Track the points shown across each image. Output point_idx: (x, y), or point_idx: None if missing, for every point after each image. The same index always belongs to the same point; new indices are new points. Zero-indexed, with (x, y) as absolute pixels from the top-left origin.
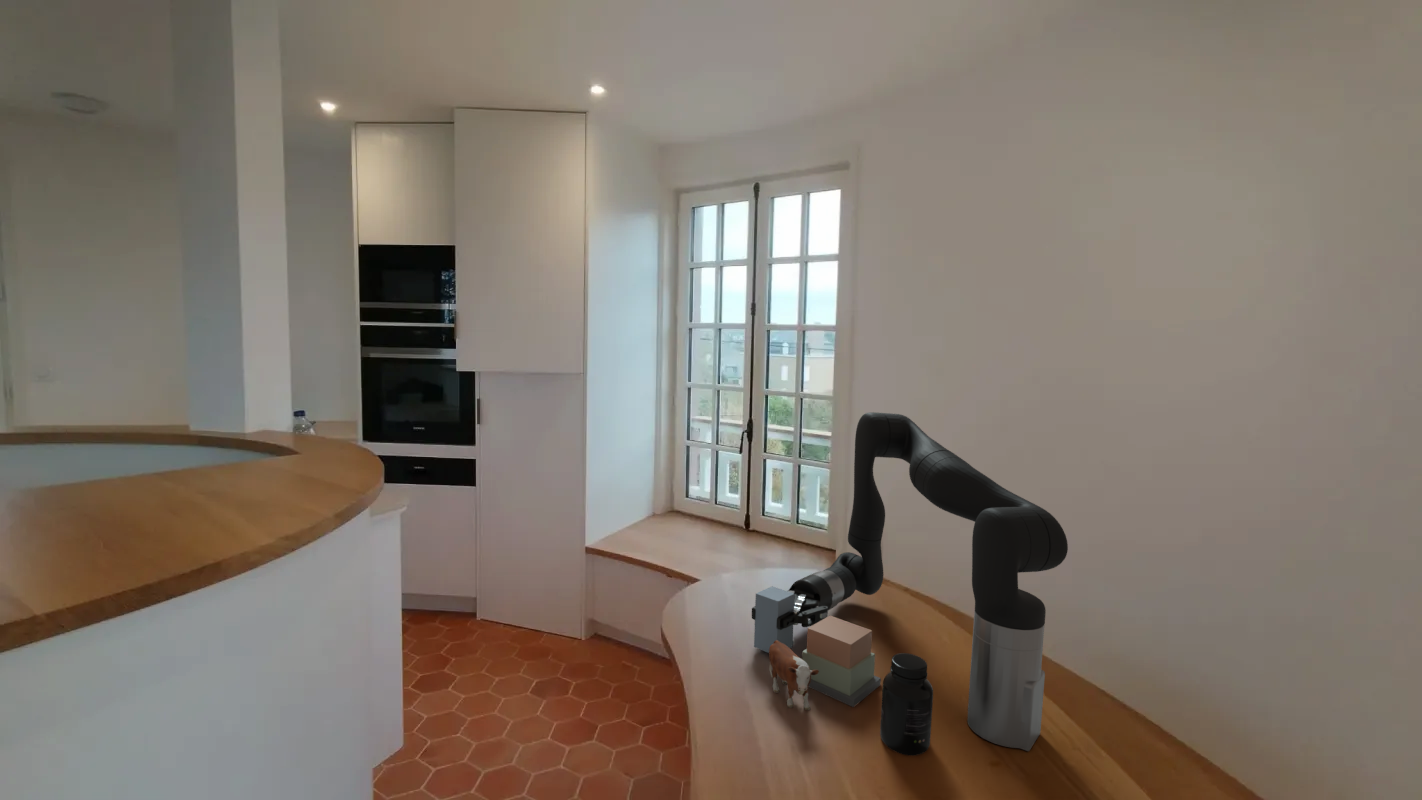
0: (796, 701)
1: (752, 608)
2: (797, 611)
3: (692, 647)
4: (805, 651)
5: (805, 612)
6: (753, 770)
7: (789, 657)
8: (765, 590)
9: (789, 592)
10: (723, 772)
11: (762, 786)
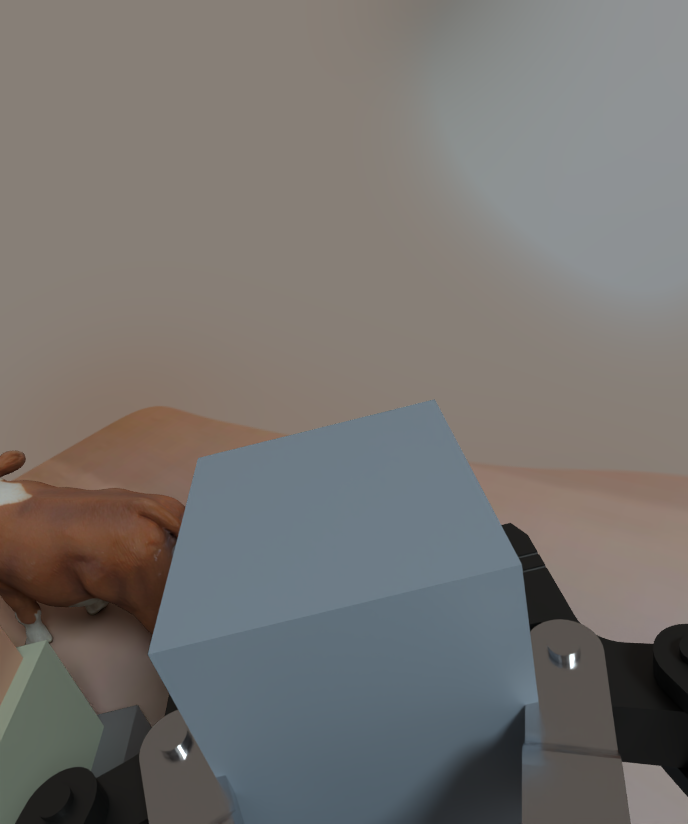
0: (88, 640)
1: (505, 524)
2: (146, 752)
3: (668, 515)
4: (29, 652)
5: (48, 790)
6: (92, 455)
7: (44, 489)
8: (444, 466)
9: (219, 624)
10: (138, 425)
11: (62, 453)
